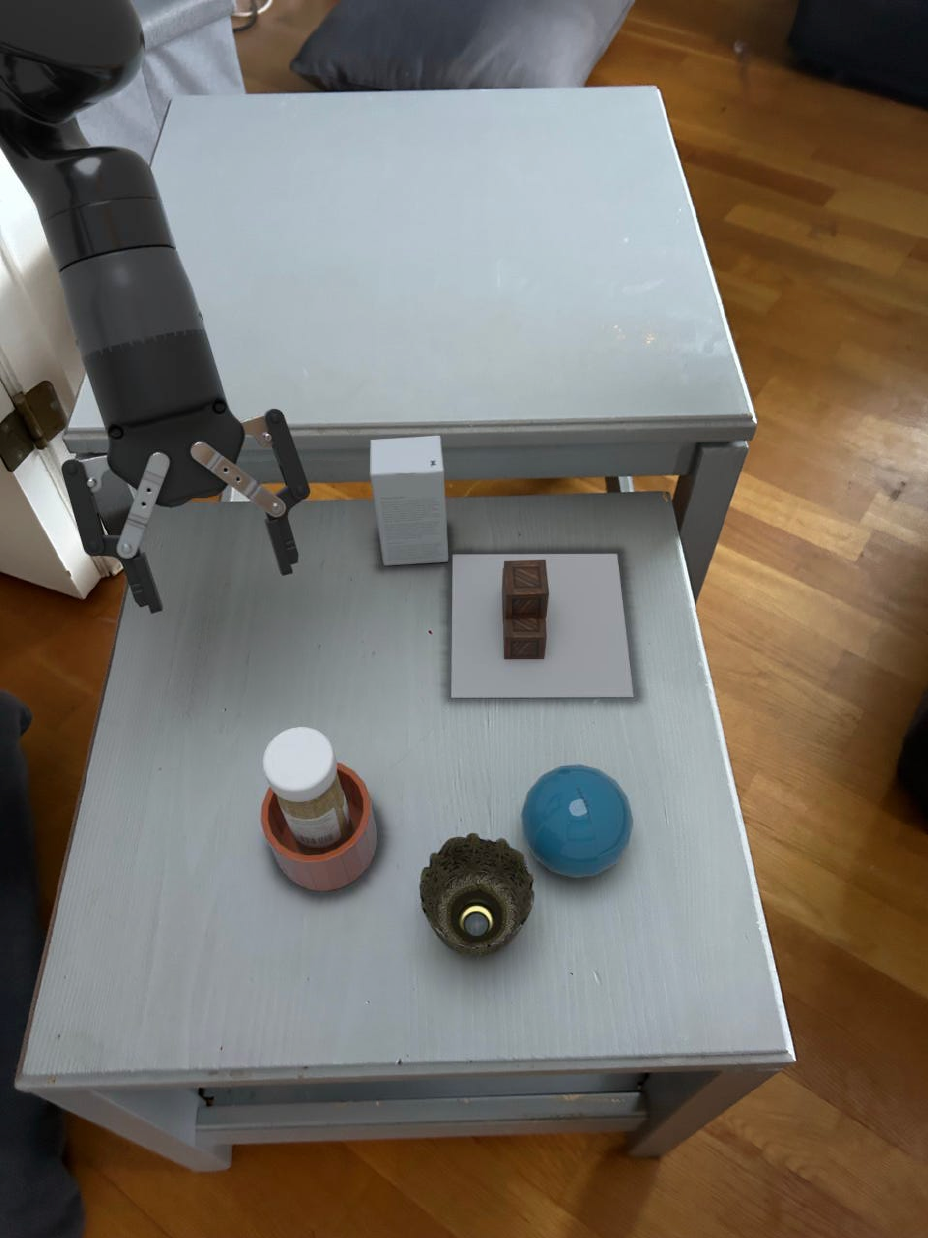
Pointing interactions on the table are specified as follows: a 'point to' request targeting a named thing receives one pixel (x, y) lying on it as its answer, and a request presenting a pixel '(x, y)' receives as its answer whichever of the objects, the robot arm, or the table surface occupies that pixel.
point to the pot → (335, 864)
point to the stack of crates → (538, 627)
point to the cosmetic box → (409, 499)
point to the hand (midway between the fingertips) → (223, 591)
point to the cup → (476, 893)
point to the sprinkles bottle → (308, 789)
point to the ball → (576, 821)
